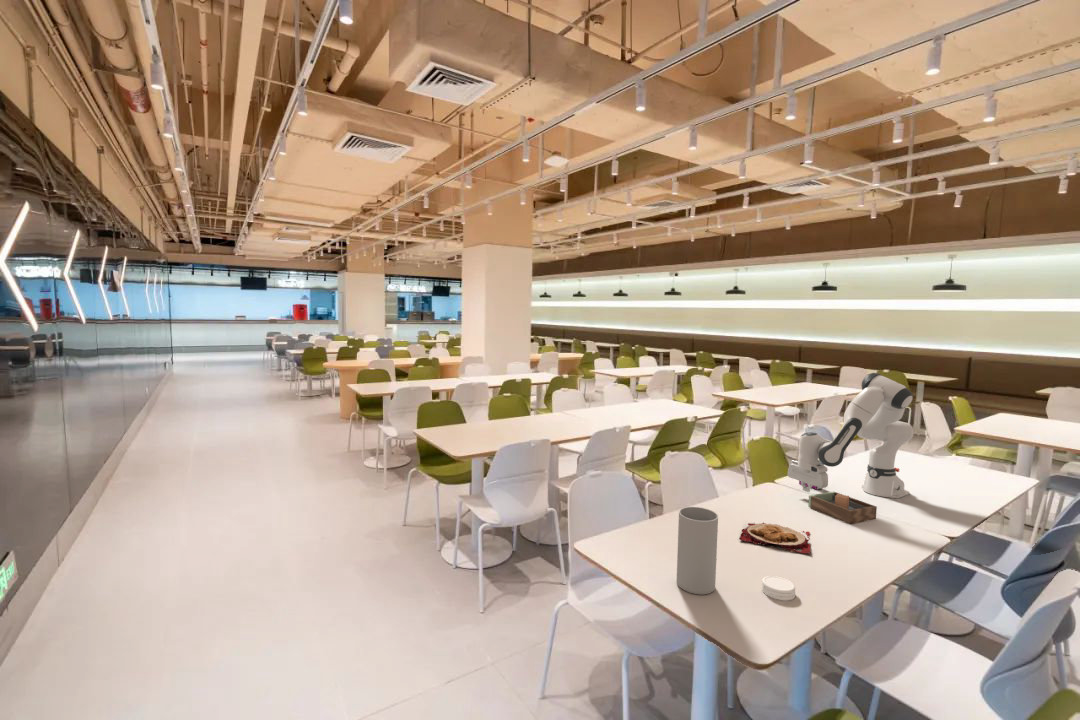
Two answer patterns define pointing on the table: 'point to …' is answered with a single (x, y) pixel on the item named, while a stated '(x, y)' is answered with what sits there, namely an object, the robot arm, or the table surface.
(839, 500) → the terracotta block
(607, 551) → the table surface
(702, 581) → the cylinder vase
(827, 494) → the grey drawer
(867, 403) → the robot arm
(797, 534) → the plate with food
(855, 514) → the organiser housing
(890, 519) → the table surface
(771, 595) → the coaster
